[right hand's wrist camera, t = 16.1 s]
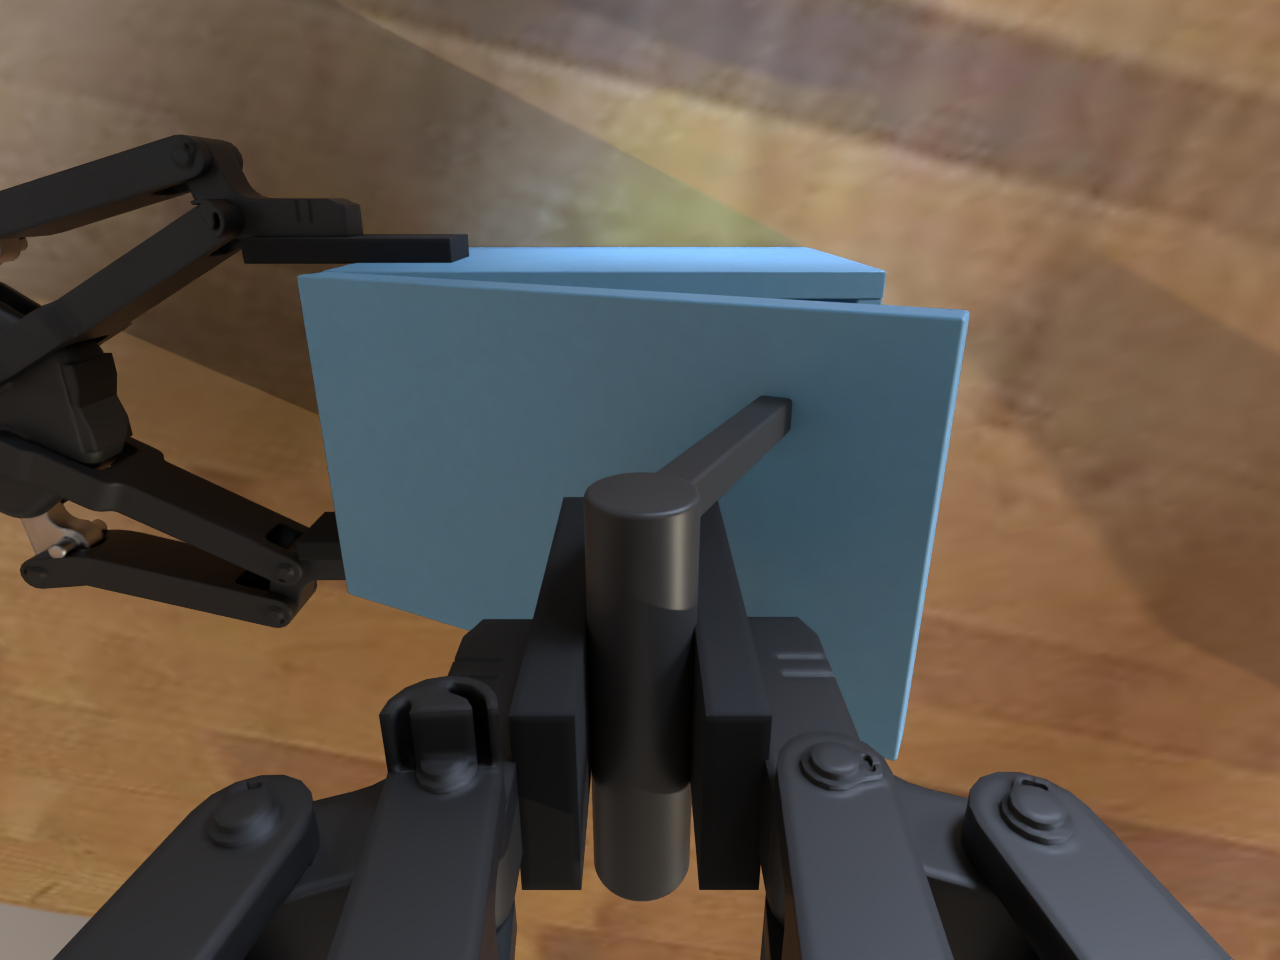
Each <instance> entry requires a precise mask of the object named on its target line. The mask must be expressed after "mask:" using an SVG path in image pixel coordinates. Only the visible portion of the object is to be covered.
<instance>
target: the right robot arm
mask: <svg viewBox="0 0 1280 960" xmlns="http://www.w3.org/2000/svg"><path fill="white" fill-rule="evenodd" d="M379 718H380V724H381V731H382V737H383V744H384V750H385V756H386V763H387V769H388V775H387V778H386V779H384V780H382V781H380V782H378V783H376V784H374V785H372V786H369V787H366V788H363V789H360V790H357V791H353V792H349V793H345V794H341V795H337V796H333V797H329V798H325V799H320V800H316V801H313V799H312V794H311V791H310V790H309V789H308V788H307V787H306V786H305V784H304V783H303V782H302V781H301V780H298V779H295V778H292V777H289V776H286V775H261V776H257V777H253V778H250V779H246V780H242V781H239V782H235V783H234V784H232V785H230V786H228V787H226V788H224V789H222V790H220V791H218V792H216V793H214V794H212V795H211V796H210V797H208V798H207V799H206V800H205V801H203V802H202V803H201V804H200V805H199V806H197V807H196V808H195V809H194V810H193V811H191V812H190V814H189V815H188V816H187V817H186V818H185V819H184V820H183V821H182V822H181V823H180V824H179V825H178V826H177V827H176V828H175V830H174V831H173V832H172V833H171V834H170V835H169V836H168V837H167V838H166V839H165V840H164V841H163V842H162V843H161V844H160V846H159V847H158V848H157V849H156V850H155V851H154V852H153V853H152V854H151V855H150V856H149V857H148V858H147V859H146V860H145V862H144V863H143V864H142V865H141V866H140V867H139V868H138V869H137V870H136V871H135V872H134V873H133V874H132V875H131V876H130V878H129V879H128V880H127V881H126V882H125V883H124V884H123V885H122V886H121V887H120V888H119V889H118V890H117V891H116V892H115V894H114V895H113V896H112V897H111V898H110V899H109V900H108V901H107V902H106V903H105V904H104V905H103V906H102V907H101V908H100V910H99V911H98V912H97V913H96V914H95V915H94V916H93V917H92V918H91V919H90V920H89V921H88V922H87V923H86V924H85V926H84V927H83V928H82V929H81V930H80V931H79V932H78V933H77V934H76V935H75V936H74V937H73V938H72V939H71V940H70V942H69V943H68V944H67V945H66V946H65V947H64V948H63V949H62V950H61V951H60V952H59V953H58V954H57V955H56V956H55V958H54V959H53V960H514V957H515V945H516V933H517V922H516V911H515V899H514V898H515V892H516V887H517V881H518V876H519V870H521V883H522V890H581V887H582V875H583V863H584V851H585V839H586V828H587V816H588V804H589V792H590V780H591V738H590V705H589V671H588V638H587V604H586V571H585V538H584V504H583V497H563V501H562V505H561V509H560V513H559V517H558V521H557V525H556V529H555V533H554V537H553V541H552V545H551V549H550V553H549V557H548V561H547V565H546V569H545V572H544V576H543V580H542V584H541V588H540V592H539V596H538V600H537V604H536V608H535V612H534V616H533V619H483V620H482V621H480V622H479V623H478V624H477V625H476V626H475V627H474V628H473V629H471V630H470V631H469V632H468V633H467V634H466V635H465V636H464V637H463V639H462V641H461V644H460V646H459V649H458V651H457V654H456V656H455V662H453V664H452V666H451V669H450V671H449V674H448V676H444V677H438V678H432V679H426V680H424V681H421V682H419V683H416V684H414V685H411V686H409V687H406V688H405V689H403V690H402V691H400V692H399V693H398V694H396V695H395V696H394V697H392V698H391V699H389V701H388V702H387V703H386V705H385V706H384V708H383V709H382V711H381V712H380V714H379ZM690 785H691V796H692V808H693V820H694V832H695V844H696V856H697V867H698V879H699V890H759V878H760V865H761V868H762V874H763V879H764V885H765V891H766V899H765V911H764V922H763V934H762V946H761V958H760V960H1233V959H1232V958H1231V957H1230V956H1229V955H1228V954H1227V953H1226V952H1225V951H1224V950H1223V948H1222V947H1221V946H1220V945H1219V944H1218V943H1217V942H1216V941H1215V940H1214V939H1213V938H1212V937H1211V936H1210V935H1209V934H1208V933H1207V932H1206V930H1205V929H1204V928H1203V927H1202V926H1201V925H1200V924H1199V923H1198V922H1197V921H1196V920H1195V919H1194V918H1193V917H1192V916H1191V915H1190V914H1189V912H1188V911H1187V910H1186V909H1185V908H1184V907H1183V906H1182V905H1181V904H1180V903H1179V902H1178V901H1177V900H1176V899H1175V898H1174V897H1173V896H1172V894H1171V893H1170V892H1169V891H1168V890H1167V889H1166V888H1165V887H1164V886H1163V885H1162V884H1161V883H1160V882H1159V881H1158V880H1157V879H1156V877H1155V876H1154V875H1153V874H1152V873H1151V872H1150V871H1149V870H1148V869H1147V868H1146V867H1145V866H1144V865H1143V864H1142V863H1141V862H1140V861H1139V859H1138V858H1137V857H1136V856H1135V855H1134V854H1133V853H1132V852H1131V851H1130V850H1129V849H1128V848H1127V847H1126V846H1125V845H1124V844H1123V843H1122V841H1121V840H1120V839H1119V838H1118V837H1117V836H1116V835H1115V834H1114V833H1113V832H1112V831H1111V830H1110V829H1109V828H1108V827H1107V826H1106V825H1105V823H1104V822H1103V821H1102V820H1101V819H1100V818H1099V817H1098V816H1097V815H1096V814H1095V813H1094V812H1093V811H1092V810H1091V809H1090V808H1089V807H1088V806H1087V805H1085V804H1084V803H1083V802H1082V801H1081V800H1079V799H1078V798H1077V797H1076V796H1075V795H1073V794H1072V793H1071V792H1069V791H1068V790H1066V789H1064V788H1062V787H1060V786H1058V785H1056V784H1054V783H1052V782H1050V781H1048V780H1046V779H1043V778H1039V777H1035V776H1032V775H1028V774H1024V773H1021V772H996V773H993V774H990V775H987V776H984V777H981V778H979V780H978V781H977V782H976V783H975V784H974V785H973V787H972V788H971V789H970V793H969V797H968V798H964V797H960V796H956V795H952V794H948V793H944V792H939V791H935V790H931V789H927V788H924V787H921V786H918V785H915V784H912V783H909V782H907V781H905V780H903V779H901V778H899V777H897V776H895V775H893V773H892V771H891V769H890V768H889V766H888V764H887V763H886V761H885V759H884V758H883V756H882V755H880V754H879V753H878V752H877V751H875V750H874V749H873V748H872V747H871V746H869V745H868V744H867V743H865V742H863V741H860V738H859V736H858V734H857V731H856V729H855V726H854V724H853V721H852V719H851V716H850V714H849V711H848V709H847V706H846V704H845V701H844V699H843V696H842V694H841V691H840V689H839V686H838V684H837V681H836V679H835V677H833V671H832V669H831V666H830V664H829V662H828V659H826V654H825V652H824V649H823V647H822V644H821V642H820V639H819V637H818V634H816V633H815V632H814V631H813V630H812V629H811V628H810V627H809V626H807V625H806V624H805V623H804V622H803V621H802V620H801V619H800V618H798V617H747V613H746V609H745V606H744V602H743V598H742V594H741V590H740V586H739V582H738V578H737V574H736V570H735V566H734V562H733V558H732V554H731V550H730V546H729V542H728V538H727V534H726V530H725V527H724V523H723V519H722V515H721V511H720V507H719V503H718V501H717V502H715V503H714V504H713V505H712V506H711V507H710V508H709V509H708V510H707V511H706V512H705V513H704V514H703V515H702V516H701V517H700V544H699V575H698V606H697V623H696V626H695V646H694V678H693V710H692V742H691V774H690Z"/></svg>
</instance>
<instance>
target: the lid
mask: <svg viewBox="0 0 1280 960" xmlns="http://www.w3.org/2000/svg"><path fill="white" fill-rule="evenodd" d="M297 281H298V288H299V294H300V300H301V306H302V312H303V318H304V325H305V331H306V337H307V343H308V349H309V355H310V362H311V368H312V374H313V380H314V386H315V392H316V399H317V405H318V411H319V417H320V423H321V429H322V435H323V442H324V448H325V454H326V460H327V466H328V472H329V479H330V485H331V491H332V497H333V503H334V509H335V516H336V522H337V528H338V534H339V540H340V546H341V553H342V559H343V565H344V571H345V577H346V583H347V589H348V593H349V594H351V595H354V596H358V597H361V598H364V599H367V600H371V601H374V602H377V603H381V604H384V605H387V606H390V607H394V608H397V609H400V610H403V611H407V612H410V613H413V614H416V615H420V616H423V617H426V618H429V619H433V620H436V621H439V622H442V623H446V624H449V625H452V626H455V627H459V628H462V629H465V630H468V631H470V630H471V629H473V628H474V627H475V626H476V625H477V624H478V623H479V622H480V621H482V620H483V619H533V616H534V612H535V608H536V604H537V600H538V596H539V592H540V588H541V584H542V580H543V576H544V572H545V569H546V565H547V561H548V557H549V553H550V549H551V545H552V541H553V537H554V533H555V529H556V525H557V521H558V517H559V513H560V509H561V505H562V501H563V497H583V504H584V538H585V571H586V604H587V638H588V671H589V705H590V738H591V771H592V805H593V838H594V864H595V869H596V872H597V874H598V876H599V878H600V880H601V881H602V883H603V884H604V885H605V886H606V887H607V888H608V889H609V890H610V891H611V892H613V893H614V894H616V895H618V896H620V897H622V898H625V899H628V900H632V901H651V900H656V899H659V898H662V897H664V896H666V895H668V894H669V893H671V892H672V891H674V890H675V889H676V888H677V887H678V886H679V885H680V883H681V882H682V881H683V879H684V877H685V876H686V873H687V871H688V867H689V855H690V823H691V806H692V796H691V785H690V774H691V742H692V710H693V678H694V646H695V626H696V623H697V606H698V575H699V544H700V517H701V516H702V515H703V514H704V513H705V512H706V511H707V510H708V509H709V508H710V507H711V506H712V505H713V504H714V503H715V502H717V501H718V503H719V507H720V511H721V515H722V519H723V523H724V527H725V530H726V534H727V538H728V542H729V546H730V550H731V554H732V558H733V562H734V566H735V570H736V574H737V578H738V582H739V586H740V590H741V594H742V598H743V602H744V606H745V609H746V613H747V617H798V618H800V619H801V620H802V621H803V622H804V623H805V624H806V625H807V626H809V627H810V628H811V629H812V630H813V631H814V632H815V633H816V634H818V637H819V639H820V642H821V644H822V647H823V649H824V652H825V654H826V659H828V662H829V664H830V666H831V669H832V671H833V677H835V679H836V681H837V684H838V686H839V689H840V691H841V694H842V696H843V699H844V701H845V704H846V706H847V709H848V711H849V714H850V716H851V719H852V721H853V724H854V726H855V729H856V731H857V734H858V736H859V738H860V741H863V742H865V743H867V744H868V745H869V746H871V747H872V748H873V749H874V750H875V751H877V752H878V753H879V754H880V755H882V756H883V758H886V759H889V760H892V761H895V760H896V759H897V756H898V752H899V748H900V744H901V740H902V736H903V731H904V725H905V719H906V712H907V706H908V700H909V693H910V687H911V681H912V675H913V668H914V662H915V656H916V649H917V643H918V637H919V630H920V624H921V618H922V612H923V605H924V599H925V593H926V586H927V580H928V574H929V567H930V561H931V555H932V549H933V542H934V536H935V530H936V523H937V517H938V511H939V504H940V498H941V492H942V486H943V479H944V473H945V467H946V460H947V454H948V448H949V441H950V435H951V429H952V423H953V416H954V410H955V404H956V397H957V391H958V385H959V378H960V372H961V366H962V360H963V353H964V347H965V341H966V334H967V328H968V322H969V312H968V311H966V310H958V309H941V308H924V307H908V306H891V305H874V304H858V303H841V302H824V301H807V300H791V299H774V298H757V297H740V296H724V295H707V294H690V293H674V292H657V291H640V290H623V289H607V288H590V287H573V286H556V285H540V284H523V283H506V282H490V281H473V280H456V279H439V278H423V277H406V276H389V275H372V274H356V273H339V272H321V273H312V274H303V275H299V276H297Z"/></svg>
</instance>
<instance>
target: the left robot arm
mask: <svg viewBox="0 0 1280 960" xmlns="http://www.w3.org/2000/svg"><path fill="white" fill-rule="evenodd" d="M242 168H243V160H242V156H241V154H240V152H239V150H238V149H237V148H236V147H235V146H234V145H233V144H231V143H230V142H227V141H224V140H217V139H210V138H202V137H195V136H188V135H173V136H170V137H167V138H164V139H161V140H157V141H154V142H151V143H148V144H145V145H142V146H139V147H136V148H133V149H129V150H126V151H123V152H120V153H117V154H114V155H111V156H108V157H105V158H101V159H98V160H95V161H92V162H89V163H86V164H83V165H80V166H77V167H73V168H70V169H67V170H64V171H61V172H58V173H55V174H52V175H49V176H45V177H42V178H39V179H36V180H33V181H30V182H27V183H24V184H21V185H17V186H14V187H11V188H8V189H5V190H2V191H0V265H1V264H2V263H5V262H9V261H14V260H15V259H17V258H18V256H19V255H20V252H21V251H23V250H25V249H26V248H27V246H28V242H27V240H26V238H25V237H36V236H46V235H53V234H57V233H61V232H65V231H68V230H71V229H75V228H78V227H81V226H84V225H87V224H90V223H94V222H97V221H100V220H103V219H106V218H110V217H113V216H116V215H119V214H122V213H126V212H129V211H132V210H135V209H138V208H142V207H145V206H148V205H151V204H154V203H158V202H161V201H164V200H167V199H170V198H174V197H177V196H180V195H183V194H186V193H190V192H191V193H192V195H193V197H194V199H195V200H193V201H190V202H191V203H192V205H198V206H196V207H195V208H193V209H192V210H190V211H189V212H187V213H186V214H184V215H183V216H181V217H180V218H178V219H177V220H175V221H174V222H172V223H171V224H169V225H168V226H167V227H165V228H164V229H162V230H161V231H159V232H158V233H156V234H155V235H153V236H152V237H150V238H149V239H147V240H146V241H144V242H143V243H141V244H140V245H138V246H137V247H135V248H134V249H132V250H131V251H129V252H128V253H126V254H125V255H123V256H122V257H120V258H119V259H117V260H116V261H115V262H113V263H112V264H110V265H109V266H107V267H106V268H104V269H103V270H101V271H100V272H98V273H97V274H95V275H94V276H92V277H91V278H89V279H88V280H86V281H85V282H83V283H82V284H80V285H79V286H77V287H76V288H74V289H73V290H71V291H70V292H68V293H67V294H65V295H64V296H63V297H61V298H59V299H58V300H56V301H54V302H52V303H49V304H46V305H44V306H41V305H39V304H38V303H36V302H34V301H33V300H31V299H29V298H28V297H26V296H24V295H23V294H21V293H20V292H18V291H16V290H15V289H13V288H11V287H10V286H8V285H6V284H5V283H3V282H0V512H1V513H4V514H6V515H8V516H12V517H16V518H21V520H22V522H23V525H24V527H25V530H26V532H27V534H28V537H29V539H30V542H31V544H32V546H33V549H34V551H35V554H36V555H35V556H34V557H32V558H30V559H29V560H27V561H25V562H24V563H23V564H22V565H21V569H20V572H21V576H22V577H23V579H24V580H25V582H27V583H28V584H29V585H31V586H33V587H35V588H42V589H45V588H59V587H72V586H86V585H87V586H92V587H96V588H101V589H105V590H110V591H114V592H119V593H123V594H127V595H132V596H136V597H141V598H145V599H150V600H154V601H159V602H163V603H168V604H172V605H176V606H181V607H185V608H190V609H194V610H199V611H203V612H208V613H212V614H216V615H221V616H225V617H230V618H234V619H239V620H243V621H248V622H252V623H257V624H261V625H265V626H270V627H275V628H281V627H284V626H286V625H288V624H289V623H290V622H291V620H292V619H293V618H294V617H295V616H296V614H297V613H298V612H299V611H300V609H301V608H302V607H303V606H304V604H305V603H306V602H307V601H308V600H309V598H310V597H311V596H312V595H313V593H314V592H315V591H316V588H317V581H316V580H346V577H345V571H344V565H343V559H342V553H341V546H340V540H339V534H338V528H337V522H336V516H335V512H324V513H323V515H322V516H321V517H320V518H319V519H318V520H317V521H316V522H315V523H314V524H313V525H312V526H311V527H310V528H308V527H306V526H304V525H302V524H300V523H298V522H296V521H293V520H291V519H289V518H287V517H285V516H283V515H280V514H278V513H276V512H274V511H272V510H270V509H267V508H265V507H263V506H261V505H259V504H257V503H255V502H252V501H250V500H248V499H246V498H244V497H242V496H239V495H237V494H235V493H233V492H231V491H229V490H227V489H224V488H222V487H220V486H218V485H216V484H214V483H211V482H209V481H207V480H205V479H203V478H201V477H199V476H196V475H194V474H192V473H190V472H188V471H186V470H183V469H181V468H179V467H177V466H175V465H173V464H170V463H168V462H167V461H165V460H164V455H163V454H162V452H160V451H159V450H157V449H155V448H153V447H151V446H149V445H147V444H144V443H142V442H140V441H138V440H136V439H134V438H132V437H130V436H132V435H133V434H132V430H131V426H130V422H129V418H128V415H127V413H126V411H125V409H124V408H123V406H122V404H121V402H120V400H119V398H118V396H117V372H116V368H115V364H114V360H113V356H112V353H104V352H103V351H102V349H101V348H100V346H99V345H101V344H102V343H104V342H105V341H107V340H108V339H110V338H112V337H113V336H115V335H116V334H118V333H119V332H121V331H122V330H124V329H125V328H127V327H128V326H130V325H131V324H132V323H131V321H132V320H134V319H135V318H137V317H138V316H140V315H141V314H143V313H145V312H146V311H148V310H149V309H151V308H152V307H154V306H155V305H157V304H158V303H160V302H161V301H163V300H164V299H166V298H168V297H169V296H171V295H172V294H174V293H175V292H177V291H178V290H180V289H181V288H183V287H184V286H186V285H187V284H189V283H191V282H192V281H194V280H195V279H197V278H198V277H200V276H201V275H203V274H204V273H206V272H207V271H209V270H211V269H212V268H214V267H215V266H217V265H218V264H220V263H221V262H223V261H224V260H226V259H227V258H229V257H230V256H232V255H234V254H235V253H237V252H238V251H240V250H241V249H242V253H243V259H244V264H354V263H453V262H455V261H458V260H461V259H463V258H466V257H469V246H468V234H363V228H362V220H361V212H360V205H358V204H356V203H353V202H351V201H348V200H346V199H273V198H267V197H264V196H262V195H260V194H259V193H257V192H256V191H255V190H254V189H253V188H252V187H251V186H250V184H249V183H248V181H247V179H246V177H245V175H244V173H243V171H242ZM109 466H110V467H109ZM107 467H108V468H107ZM68 500H69V501H72V502H74V503H76V504H78V505H81V506H83V507H85V508H87V509H90V510H93V511H100V512H102V511H115V512H118V513H121V514H123V515H125V516H127V517H130V518H132V519H134V520H136V521H139V522H141V523H143V524H145V525H148V526H150V527H152V528H154V529H157V530H159V531H161V532H163V533H166V534H168V535H170V536H172V537H175V538H177V539H179V540H181V541H184V542H186V543H183V542H179V541H175V540H171V539H166V538H162V537H158V536H153V535H149V534H145V533H140V532H135V531H128V530H107V525H106V523H105V522H104V521H102V520H99V519H96V520H94V521H92V522H91V521H89V520H84V519H78V518H76V517H74V516H72V515H71V514H70V513H69V512H68V511H67V510H66V509H65V507H64V505H63V503H65V502H66V501H68Z"/></svg>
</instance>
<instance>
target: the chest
mask: <svg viewBox="0 0 1280 960" xmlns="http://www.w3.org/2000/svg"><path fill="white" fill-rule="evenodd" d="M322 272H339V273H356V274H372V275H389V276H406V277H423V278H439V279H456V280H473V281H490V282H506V283H523V284H540V285H556V286H573V287H590V288H607V289H623V290H640V291H657V292H674V293H690V294H707V295H724V296H740V297H757V298H774V299H791V300H807V301H824V302H841V303H858V304H874V305H882V299H881V298H883V296H884V287H885V279H886V271H884V270H880V269H877V268H874V267H871V266H867V265H864V264H861V263H858V262H854V261H851V260H848V259H844V258H841V257H838V256H835V255H831V254H828V253H825V252H822V251H818V250H815V249H812V248H807V247H469V257H466V258H463V259H461V260H458V261H455V262H453V263H354V264H350V265H346V266H341V267H337V268H333V269H329V270H325V271H322Z"/></svg>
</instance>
